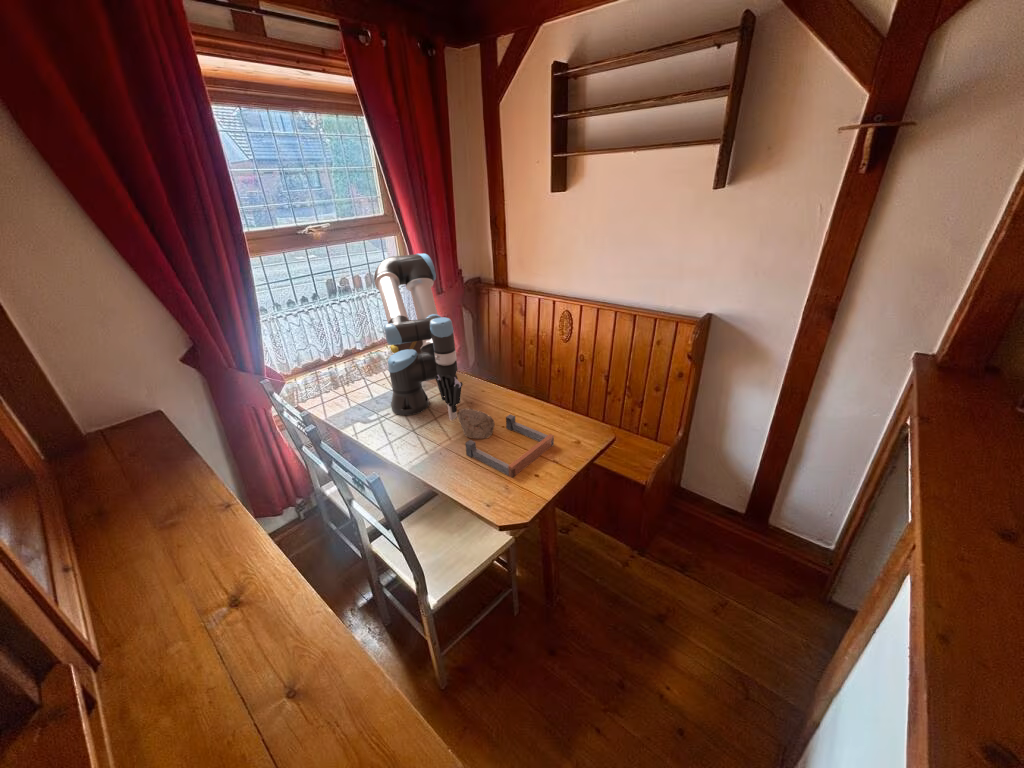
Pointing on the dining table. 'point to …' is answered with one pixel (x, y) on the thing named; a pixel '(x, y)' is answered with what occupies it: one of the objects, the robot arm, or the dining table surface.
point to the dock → (523, 460)
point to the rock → (475, 423)
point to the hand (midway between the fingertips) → (453, 418)
